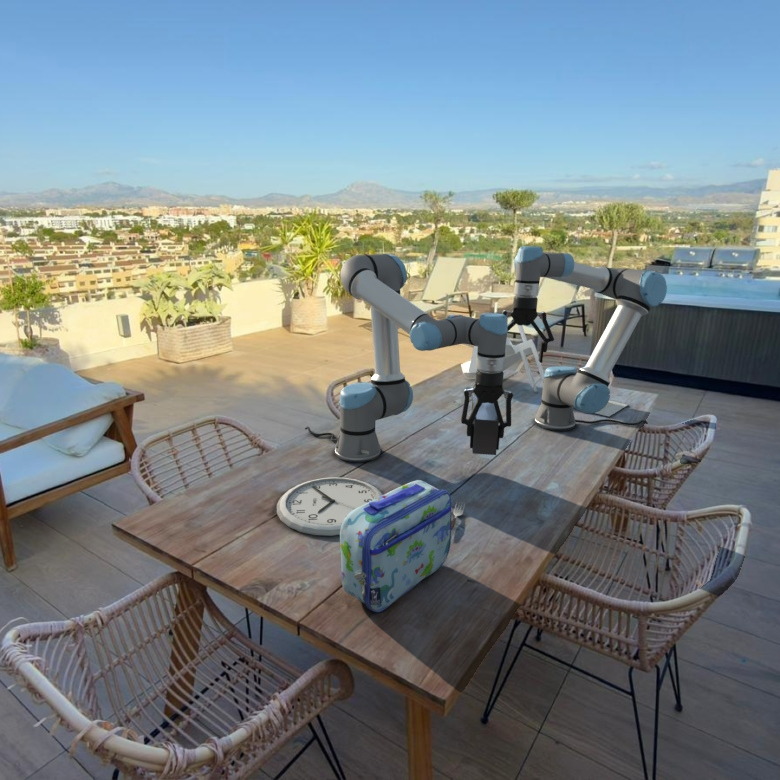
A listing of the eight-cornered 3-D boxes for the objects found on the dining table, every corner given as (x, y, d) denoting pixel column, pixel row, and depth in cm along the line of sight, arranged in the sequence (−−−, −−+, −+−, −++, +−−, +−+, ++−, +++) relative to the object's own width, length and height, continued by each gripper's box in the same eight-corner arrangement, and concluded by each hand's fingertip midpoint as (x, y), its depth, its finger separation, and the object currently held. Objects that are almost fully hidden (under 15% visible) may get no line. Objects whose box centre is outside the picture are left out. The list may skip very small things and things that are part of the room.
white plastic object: (482, 420, 263) (461, 397, 239) (463, 347, 285) (443, 319, 261) (554, 396, 251) (539, 370, 226) (528, 322, 273) (513, 290, 249)
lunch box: (369, 626, 100) (370, 530, 93) (334, 598, 107) (332, 507, 101) (455, 567, 117) (460, 483, 111) (419, 547, 124) (423, 467, 118)
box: (470, 426, 169) (472, 395, 166) (491, 427, 168) (493, 396, 165) (472, 453, 148) (475, 419, 145) (496, 455, 148) (499, 420, 145)
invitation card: (608, 416, 214) (573, 407, 224) (608, 416, 214) (573, 408, 224) (628, 404, 229) (594, 396, 238) (628, 405, 229) (594, 397, 238)
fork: (441, 537, 129) (441, 530, 128) (456, 506, 143) (456, 499, 142) (451, 539, 128) (452, 532, 127) (465, 508, 142) (466, 501, 142)
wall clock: (392, 527, 129) (268, 531, 127) (391, 533, 130) (269, 537, 127) (383, 473, 158) (282, 475, 155) (383, 478, 158) (282, 480, 156)
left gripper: (454, 372, 141) (449, 450, 148) (527, 375, 139) (519, 454, 146) (454, 365, 149) (450, 440, 155) (524, 368, 146) (516, 444, 153)
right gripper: (487, 296, 165) (482, 361, 172) (568, 299, 162) (560, 365, 169) (485, 293, 172) (481, 356, 179) (563, 296, 170) (555, 359, 176)
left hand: (483, 447), depth 151 cm, fingers closed on box, 7 cm apart
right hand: (519, 360), depth 174 cm, fingers open, 13 cm apart
